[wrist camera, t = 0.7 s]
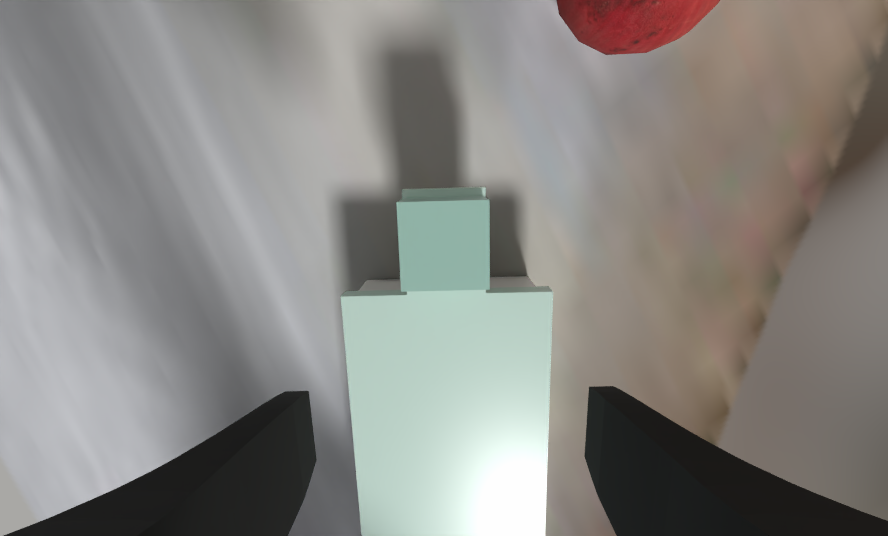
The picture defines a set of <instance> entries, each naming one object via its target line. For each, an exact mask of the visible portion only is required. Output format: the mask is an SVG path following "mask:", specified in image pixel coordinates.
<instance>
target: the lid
mask: <svg viewBox="0 0 888 536" xmlns="http://www.w3.org/2000/svg"><path fill="white" fill-rule="evenodd" d="M396 206H397V224H398V243H399V262H400V281H401V290H373V291H345V292H344V293H343V294H342V296H341V307H342V318H343V330H344V341H345V352H346V364H347V375H348V387H349V398H350V410H351V421H352V432H353V444H354V455H355V467H356V478H357V490H358V501H359V512H360V524H361V535H362V536H545V518H546V488H547V458H548V428H549V398H550V368H551V339H552V309H553V291H552V290H551V289H550V288H549V287H548V286H542V287H500V288H490V200H489V199H488V198H486V188H485V187H456V188H420V189H402V199H401V200H399V201H398V202H396Z"/></svg>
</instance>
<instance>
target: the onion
mask: <svg viewBox="0 0 888 536" xmlns="http://www.w3.org/2000/svg"><path fill="white" fill-rule="evenodd" d="M719 1H720V0H557V5H558V10H559V15H560V16H561V17H562V19H563V20H564V22H565V23H566V24H567V26H568V27H569V28H570V30H571V31H572V33H573V34H574V35H575V37H576V38H577V40H578V41H579V42H581V43H583V44H585V45H587V46H589V47H591V48H593V49H595V50H597V51H599V52H602V53H604V54H606V55H612V54H631V53H647V52H649V51H651V50H654V49H656V48H658V47H661V46H663V45H665V44H668V43H670V42H672V41H674V40H677V39H679V38H680V37H682V36H683V35H685V34H686V33H688V32H689V31H690V30H691V29H692V28H693V27H694V26H695V25H696V24H697V23H698V22H699V21H700V20H701V19H702V18H704V17H705V16H706V15H707V14H708V13H709V12H710V11H711V10H712V9H713V8H714V7H715V6H716V5H717V4H718V2H719Z"/></svg>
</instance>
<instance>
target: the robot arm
mask: <svg viewBox="0 0 888 536" xmlns="http://www.w3.org/2000/svg"><path fill="white" fill-rule="evenodd" d="M585 459H586V462H587V465H588V468H589V471H590V475H591V478H592V481H593V483H594V486H595V489H596V492H597V495H598V497H599V499H600V501H601V504H602V506H603V508H604V510H605V512H606V514H607V516H608V518H609V520H610V523H611V525H612V527H613V529H614V531H615V533H616V535H617V536H888V521H886V520H883V519H881V518H878V517H875V516H872V515H869V514H867V513H864V512H861V511H859V510H856V509H854V508H851V507H849V506H846V505H844V504H841V503H838V502H836V501H833V500H831V499H828V498H826V497H823V496H821V495H818V494H816V493H813V492H811V491H809V490H806V489H804V488H802V487H799V486H797V485H795V484H792V483H790V482H788V481H786V480H783V479H781V478H779V477H777V476H775V475H772V474H771V473H768V472H766V471H764V470H762V469H760V468H758V467H756V466H753V465H751V464H749V463H747V462H745V461H743V460H741V459H739V458H737V457H735V456H733V455H731V454H730V453H728V452H726V451H724V450H722V449H720V448H719V447H717V446H715V445H713V444H711V443H709V442H707V441H706V440H704V439H702V438H700V437H698V436H697V435H695V434H693V433H691V432H690V431H688V430H686V429H685V428H683V427H681V426H680V425H678V424H676V423H675V422H673V421H671V420H670V419H668V418H666V417H665V416H663V415H661V414H660V413H658V412H656V411H655V410H653V409H652V408H650V407H648V406H647V405H645V404H643V403H642V402H640V401H639V400H637V399H635V398H634V397H632V396H630V395H629V394H627V393H625V392H623V391H622V390H620V389H618V388H616V387H614V386H605V387H589V397H588V413H587V428H586V444H585ZM315 463H316V453H315V444H314V435H313V426H312V417H311V408H310V399H309V391H290V392H283V393H281V394H280V395H278V396H276V397H274V398H273V399H271V400H269V401H268V402H266V403H264V404H263V405H261V406H260V407H258V408H257V409H255V410H253V411H252V412H250V413H249V414H247V415H246V416H244V417H242V418H241V419H239V420H238V421H236V422H235V423H233V424H231V425H230V426H228V427H227V428H225V429H224V430H222V431H220V432H219V433H217V434H216V435H214V436H212V437H211V438H209V439H207V440H205V441H204V442H202V443H200V444H199V445H197V446H195V447H194V448H192V449H190V450H189V451H187V452H185V453H183V454H182V455H180V456H178V457H177V458H175V459H173V460H171V461H170V462H168V463H166V464H164V465H162V466H160V467H158V468H157V469H155V470H153V471H151V472H149V473H147V474H145V475H143V476H141V477H139V478H137V479H135V480H133V481H131V482H129V483H127V484H125V485H123V486H121V487H119V488H117V489H114V490H112V491H110V492H108V493H106V494H103V495H101V496H99V497H96V498H94V499H92V500H90V501H87V502H85V503H83V504H80V505H78V506H76V507H74V508H71V509H69V510H67V511H64V512H62V513H60V514H57V515H55V516H53V517H50V518H48V519H45V520H43V521H40V522H38V523H35V524H33V525H30V526H28V527H25V528H23V529H20V530H17V531H15V532H12V533H10V534H7V535H4V536H288V534H289V531H290V529H291V527H292V525H293V523H294V520H295V518H296V516H297V514H298V512H299V509H300V507H301V505H302V503H303V500H304V498H305V495H306V492H307V489H308V486H309V483H310V479H311V476H312V473H313V469H314V466H315Z"/></svg>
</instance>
